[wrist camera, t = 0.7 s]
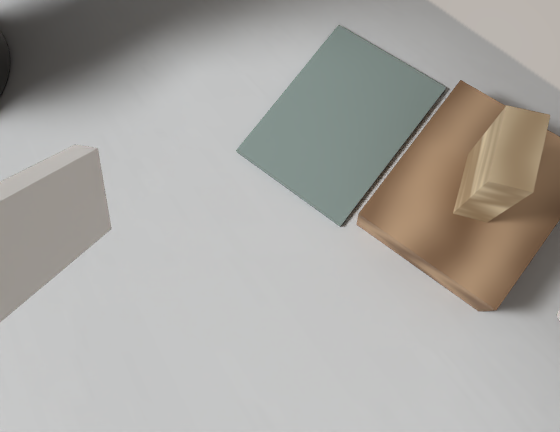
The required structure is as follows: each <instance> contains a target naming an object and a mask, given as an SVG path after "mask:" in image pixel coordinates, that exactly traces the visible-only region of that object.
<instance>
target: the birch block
mask: <svg viewBox="0 0 560 432" xmlns="http://www.w3.org/2000/svg"><path fill="white" fill-rule="evenodd" d="M549 119H550V115H548V114H544V113H539V112H535V111H530V110H525V109H521V108H516V107H512V106H506V107H505V108H504V109H503V111H502V112H501V113H500V114H499V116H498V117H497V118H496V119H495V121H494V122H493V123H492V125H491V126H490V127H489V128H488V130H487V131H486V132H485V133H484V135H483V136H482V137H481V138H480V140H479V141H478V142H477V144H476V145H475V146H474V147H473V149H472V150H471V151H470V152H469V154H468V157H467V161H466V164H465V168H464V172H463V176H462V180H461V184H460V188H459V192H458V196H457V200H456V204H455V207H454V211H453V214H457V215H460V216H464V217H468V218H472V219H475V220H479V221H483V222H486V223H487V222H489V221H490V220H492V219H493V218H495V217H496V216H498V215H499V214H501V213H502V212H504V211H505V210H507V209H509V208H510V207H512V206H513V205H515V204H516V203H518V202H519V201H521V200H522V199H524V198H526V197H527V196H529V195H530V194H532V193H533V191H534V187H535V182H536V178H537V173H538V169H539V164H540V160H541V155H542V151H543V146H544V142H545V137H546V133H547V128H548V124H549Z"/></svg>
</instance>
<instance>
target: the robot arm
mask: <svg viewBox="0 0 560 432" xmlns="http://www.w3.org/2000/svg"><path fill="white" fill-rule="evenodd" d="M9 68H10V55H9V49H8V46H7V43H6V40H5V39H4V37H3V35H2V34H1V32H0V95H1V93H2V91H3V89H4V87H5V84H6V81H7V78H8V74H9ZM110 230H111V223H110V217H109V211H108V205H107V200H106V194H105V188H104V182H103V176H102V170H101V164H100V158H99V152H98V148H94V147H87V146H81V145H73V146H71V147H69V148H67V149H65V150H63V151H61V152H59V153H57V154H55V155H53V156H51V157H49V158H47V159H45V160H43V161H41V162H39V163H37V164H35V165H33V166H31V167H29V168H27V169H25V170H23V171H21V172H19V173H17V174H15V175H13V176H11V177H9V178H7V179H5V180H3V181H1V182H0V322H1V321H2V320H4V319H5V318H6V317H7V316H8V315H10V314H11V313H12V312H13V311H14V310H15V309H17V308H18V307H19V306H20V305H21V304H23V303H24V302H25V301H26V300H27V299H29V298H30V297H31V296H32V295H33V294H35V293H36V292H37V291H38V290H39V289H41V288H42V287H43V286H44V285H45V284H46V283H48V282H49V281H50V280H51V279H52V278H54V277H55V276H56V275H57V274H58V273H60V272H61V271H62V270H63V269H64V268H66V267H67V266H68V265H69V264H70V263H72V262H73V261H74V260H75V259H76V258H77V257H79V256H80V255H81V254H82V253H83V252H85V251H86V250H87V249H88V248H89V247H91V246H92V245H93V244H94V243H95V242H97V241H98V240H99V239H100V238H101V237H103V236H104V235H105V234H106V233H107V232H108V231H110ZM557 317H558V319H559V322H560V309H559V311H558V314H557Z"/></svg>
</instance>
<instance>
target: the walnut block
mask: <svg viewBox="0 0 560 432" xmlns="http://www.w3.org/2000/svg"><path fill="white" fill-rule="evenodd" d="M505 107H506V106H505V105H503V104H502V103H500V102H498V101H496V100H495V99H493V98H491V97H489V96H488V95H486V94H484V93H482V92H481V91H479V90H477V89H475V88H474V87H472V86H470V85H468V84H467V83H465V82H463V81H462V80H460V81H459V83H458V84H457V85H456V87H455V88H454V89H453V91H452V92H451V93H450V95H449V96H448V97H447V99H446V100H445V101H444V102H443V104H442V105H441V106H440V108H439V109H438V110H437V112H436V113H435V114H434V116H433V117H432V118H431V120H430V121H429V122H428V123H427V125H426V126H425V127H424V129H423V130H422V131H421V133H420V134H419V135H418V137H417V138H416V139H415V141H414V142H413V143H412V144H411V146H410V147H409V148H408V150H407V151H406V152H405V154H404V155H403V156H402V158H401V159H400V160H399V162H398V163H397V164H396V165H395V167H394V168H393V169H392V171H391V172H390V173H389V175H388V176H387V177H386V179H385V180H384V181H383V182H382V184H381V185H380V186H379V188H378V189H377V190H376V192H375V193H374V194H373V196H372V197H371V198H370V200H369V201H368V202H367V203H366V205H365V206H364V207H363V209H362V210H361V211H360V213H359V215H358V220H357V225H358V226H359V227H361V228H362V229H364V230H365V231H366V232H368V233H369V234H371V235H372V236H374V237H375V238H376V239H378V240H379V241H381V242H382V243H383V244H385V245H386V246H388V247H389V248H390V249H392V250H393V251H395V252H396V253H397V254H399V255H400V256H402V257H403V258H404V259H406V260H407V261H409V262H410V263H411V264H413V265H414V266H416V267H417V268H418V269H420V270H421V271H423V272H424V273H426V274H427V275H428V276H430V277H431V278H433V279H434V280H435V281H437V282H438V283H440V284H441V285H442V286H444V287H445V288H447V289H448V290H449V291H451V292H452V293H454V294H455V295H456V296H458V297H459V298H461V299H462V300H463V301H465V302H466V303H468V304H469V305H470V306H472V307H473V308H475V309H476V310H478V311H494V310H497V309H498V307H499V306H500V304H501V303H502V301H503V300H504V299H505V297H506V296H507V294H508V293H509V291H510V290H511V289H512V287H513V286H514V284H515V283H516V281H517V280H518V279H519V277H520V276H521V274H522V273H523V271H524V270H525V269H526V267H527V266H528V264H529V263H530V261H531V260H532V259H533V257H534V256H535V254H536V253H537V251H538V250H539V248H540V247H541V246H542V244H543V243H544V241H545V240H546V238H547V237H548V236H549V234H550V233H551V231H552V230H553V228H554V227H555V226H556V224H557V223H558V221H559V220H560V137H559V136H557V135H556V134H554V133H552V132H550V131H549V130H547V133H546V137H545V142H544V146H543V151H542V155H541V160H540V164H539V169H538V173H537V178H536V182H535V187H534V191H533V193H532V194H530V195H529V196H527V197H526V198H524V199H522V200H521V201H519V202H518V203H516V204H515V205H513V206H512V207H510V208H509V209H507V210H505V211H504V212H502V213H501V214H499V215H498V216H496V217H495V218H493V219H492V220H490V221H489V222H487V223H486V222H483V221H479V220H475V219H472V218H468V217H464V216H460V215H457V214H453V211H454V207H455V204H456V200H457V196H458V192H459V188H460V184H461V180H462V176H463V172H464V168H465V164H466V161H467V157H468V154H469V152H470V151H471V150H472V149H473V147H474V146H475V145H476V144H477V142H478V141H479V140H480V138H481V137H482V136H483V135H484V133H485V132H486V131H487V130H488V128H489V127H490V126H491V125H492V123H493V122H494V121H495V119H496V118H497V117H498V116H499V114H500V113H501V112H502V111H503V109H504V108H505Z"/></svg>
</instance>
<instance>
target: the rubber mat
mask: <svg viewBox="0 0 560 432" xmlns="http://www.w3.org/2000/svg"><path fill="white" fill-rule="evenodd" d="M445 89H446V87H445V86H443V85H441V84H440V83H438V82H436V81H435V80H433V79H431V78H429V77H428V76H426V75H424V74H423V73H421V72H419V71H417V70H416V69H414V68H412V67H411V66H409V65H407V64H405V63H404V62H402V61H400V60H399V59H397V58H395V57H393V56H392V55H390V54H388V53H387V52H385V51H383V50H381V49H380V48H378V47H376V46H375V45H373V44H371V43H369V42H368V41H366V40H364V39H363V38H361V37H359V36H357V35H356V34H354V33H352V32H351V31H349V30H347V29H345V28H344V27H342V26H340V25H338V26H337V28H336V29H335V30H334V31H333V33H332V34H331V35H330V36H329V37H328V39H327V40H326V41H325V42H324V44H323V45H322V46H321V47H320V48H319V50H318V51H317V52H316V53H315V55H314V56H313V57H312V58H311V60H310V61H309V62H308V63H307V64H306V66H305V67H304V68H303V69H302V71H301V72H300V73H299V74H298V75H297V77H296V78H295V79H294V80H293V82H292V83H291V84H290V85H289V86H288V88H287V89H286V90H285V91H284V93H283V94H282V95H281V96H280V97H279V99H278V100H277V101H276V102H275V104H274V105H273V106H272V107H271V108H270V110H269V111H268V112H267V113H266V115H265V116H264V117H263V118H262V120H261V121H260V122H259V123H258V124H257V126H256V127H255V128H254V129H253V131H252V132H251V133H250V134H249V135H248V137H247V138H246V139H245V140H244V142H243V143H242V144H241V145H240V146H239V148H238V149H237V150H236V151H237V153H239V154H240V155H242V156H243V157H244V158H246V159H247V160H249V161H250V162H251V163H253V164H254V165H255V166H257V167H258V168H260V169H261V170H262V171H264V172H265V173H267V174H268V175H269V176H271V177H272V178H274V179H275V180H276V181H278V182H279V183H280V184H282V185H283V186H285V187H286V188H287V189H289V190H290V191H292V192H293V193H294V194H296V195H297V196H298V197H300V198H301V199H303V200H304V201H305V202H307V203H308V204H310V205H311V206H312V207H314V208H315V209H317V210H318V211H319V212H321V213H322V214H323V215H325V216H326V217H328V218H329V219H330V220H332V221H333V222H335V223H336V224H337V225H339V226H340V227H341V225H342V224H343V223H344V221H345V220H346V219H347V217H348V216H349V215H350V214H351V212H352V211H353V210H354V208H355V207H356V206H357V204H358V203H359V202H360V200H361V199H362V198H363V197H364V195H365V194H366V193H367V191H368V190H369V189H370V187H371V186H372V185H373V183H374V182H375V181H376V180H377V178H378V177H379V176H380V174H381V173H382V172H383V170H384V169H385V168H386V166H387V165H388V164H389V163H390V161H391V160H392V159H393V157H394V156H395V155H396V153H397V152H398V151H399V149H400V148H401V147H402V146H403V144H404V143H405V142H406V140H407V139H408V138H409V136H410V135H411V134H412V132H413V131H414V130H415V129H416V127H417V126H418V125H419V123H420V122H421V121H422V119H423V118H424V117H425V115H426V114H427V113H428V112H429V110H430V109H431V108H432V106H433V105H434V104H435V102H436V101H437V100H438V98H439V97H440V96H441V95H442V93H443V92H444V91H445Z"/></svg>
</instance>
